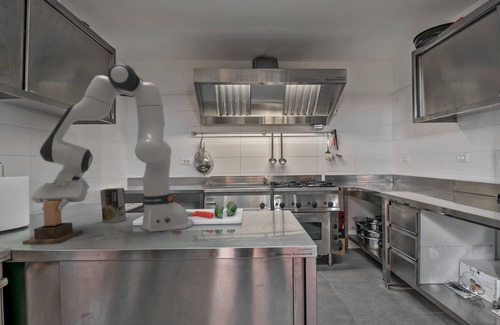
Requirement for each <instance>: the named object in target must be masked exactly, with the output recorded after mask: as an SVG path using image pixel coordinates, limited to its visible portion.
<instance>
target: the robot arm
mask: <svg viewBox="0 0 500 325" xmlns="http://www.w3.org/2000/svg"><path fill="white" fill-rule="evenodd" d="M117 96H121V97H126V98H127V97H128V98H129V97H130V98H134V100H135V104H136V114H137V124H138V130H137V141H136V145H135V148H134V154H135V157H136V158H137V159H138V160H139V161H141V162H142V163H144V164H145V169H144V174H143V176H142V184H143V185H142V186H143V188H142V189H143V196H142V208H143V218H142V224H141V227H140V228H141V229H142V230H144V231H145V230H146V231H147V232H162V231H173V230H174V231H175V230H183V229H188V228H190V227H192V226H193V225H194V223H195V222H194V220H193V219H191V218H189V214H188V211H187V209H186V208H184V207H183V206H181V204H178V203H177V202H175V197H176V196H175V195H176V194H172V193H170V169H171V168H170V167H171V156H172V148H171V146H170V145H169V143H168V142H167V141H165V140H164V130H165V125H166V124H165V113H164V107H163V106H164V105H163V99H162V95H161V90H160V89H159V86H158V85H157V84H156V83H154V82H150V81H144V80H143V78H142V77H141V76H140V75H139V74H138V72H137V71H136V70H134V68H133V67H132V66H130V65H128V64H127V63H123V62H118V63H117V62H116V63H114V64H112V66H110V68H109V69H108V71H107V75H103V74H101V75H100V74H98V75H96V76H94V77H93V79H91V82H90V83H89V85H88V87H87V88H86V90H85V92H84V96H83V98H82V99H81V100H80V101H79V102H78V103H76V104H71V105H70V106H69V107H68V108H67V109H66V111H65V112H64V113H63V115H62V116H61V118H60V119H59V120H58V122H57V124H56V125H55V127H54V128H53V130H52V132H51V133H50V134H49V135H48V137H47V138H46V140H45V141H44V142H43V143H42V144H41V146H40V149H39V154H40V156H41V157H42V159H43V160H44V161H45V162H49V163H53V164H59V165H62V169H61V170H60V171H59V172H58V174H57V175H56V177H55V178H54V181H53V182H46V183H44V184H42V185H40V186H39V187H38V188H36V190H35V191H34V192H33V194H32V196H31V199H32V201H33V202H34V203H35V204H43V203H45V202H49V201H60V202H61V203H60V204H59V205H57V206H56V208H55V209H56V210H57V211H61V212H62V210H63V209H64V207H66V206H67V205H68V204H69V203H82V202H83V201H84V200H85V199H86V196H87V194H88V190H89V188H90V186H89V184H88V181H87V180H85V179H84V177H83V176H84V175H85V173H86V172H87V171H88V170H89V168H90V166H91V165H92V163H93V154H92V152H91V151H90V149H88V148H86V147H83V146H81V145H76V144H74V143H70V142H67V141H65V140H63V138H64V136H65V135H67V134H66V133H67V132H68V131H69V129H70V127H72V126H71V125H73V123H76V122H78V121H91V122H92V121H100V120H103V119H105V118H106V117H107V116H108V115H109V114H110V111H111V109H112V106H113V105H114V104H113V103H114V101H115V100H116V98H117ZM41 210H42V211H43V212H44V208H43V206H42V207H41Z"/></svg>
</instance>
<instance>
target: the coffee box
mask: <svg viewBox="0 0 500 325" xmlns="http://www.w3.org/2000/svg"><path fill="white" fill-rule="evenodd" d="M99 191H100V203H101V204H100V205H101V215H102V216H101V217H102V218H101V219H102V223H120V222H122V221H126V219H127V215H126V212H127V211H126V201H125V200H126V198H125V187H120V188H119V187H117V188H115V187H114V188H104V189H101V190H99Z"/></svg>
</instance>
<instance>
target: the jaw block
mask: <svg viewBox="0 0 500 325" xmlns="http://www.w3.org/2000/svg"><path fill="white" fill-rule="evenodd" d="M60 203H62V202H60V201H49V202H45V203H42V205H43V206H42V207H43V208H44V211H43V221H44V222H43V223H44V225H43V226H53V225H57V224H60V223H63V222H62V210H61V211H57V210H56V209H55V208H56V206H57V205H59V204H60Z"/></svg>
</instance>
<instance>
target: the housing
mask: <svg viewBox="0 0 500 325" xmlns="http://www.w3.org/2000/svg"><path fill="white" fill-rule="evenodd" d="M33 232H34V233H33V234H34V235H33V237H31V238H28V239H26V240H23V241H22V245H23V244H32V245H49V244H48V243H60V244H62V243H64V242H66V241H68V240H70V238H71V239H73V238H74V237H76V236H79V235H81V234H84V231H83V229H80V230H79V229H78V230H77V229H75V230H73V222H62V223H60V224H57V225H53V226H44V225H42V226H38V227H35V228H33ZM61 242H62V243H61Z"/></svg>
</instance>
